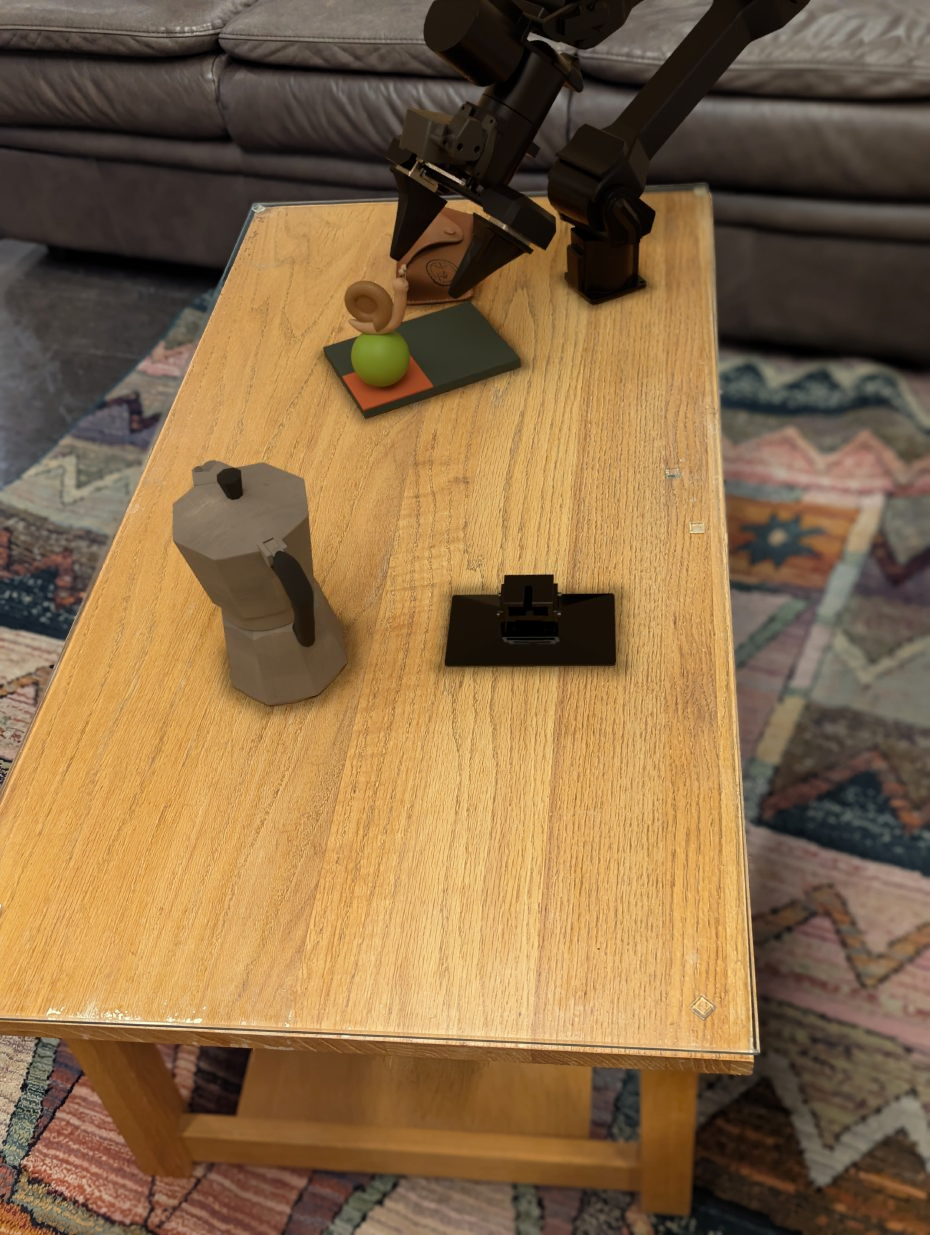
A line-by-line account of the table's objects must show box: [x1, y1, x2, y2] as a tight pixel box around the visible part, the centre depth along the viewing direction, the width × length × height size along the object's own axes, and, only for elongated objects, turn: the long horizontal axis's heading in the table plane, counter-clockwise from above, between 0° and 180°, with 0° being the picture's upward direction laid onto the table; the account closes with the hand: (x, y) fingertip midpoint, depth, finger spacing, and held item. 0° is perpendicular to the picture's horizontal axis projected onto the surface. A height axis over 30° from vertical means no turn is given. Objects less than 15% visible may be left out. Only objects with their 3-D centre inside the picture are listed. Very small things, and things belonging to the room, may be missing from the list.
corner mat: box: [322, 300, 522, 420], centre depth 105 cm, size 16×12×1 cm
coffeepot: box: [172, 459, 348, 706], centre depth 73 cm, size 15×9×18 cm, turn 33°
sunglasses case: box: [395, 206, 475, 306], centre depth 117 cm, size 18×7×7 cm
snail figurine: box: [344, 264, 410, 387], centre depth 97 cm, size 5×6×12 cm
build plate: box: [444, 573, 617, 668], centre depth 79 cm, size 12×7×5 cm, turn 86°
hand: (421, 277), depth 97 cm, fingers open, 9 cm apart
